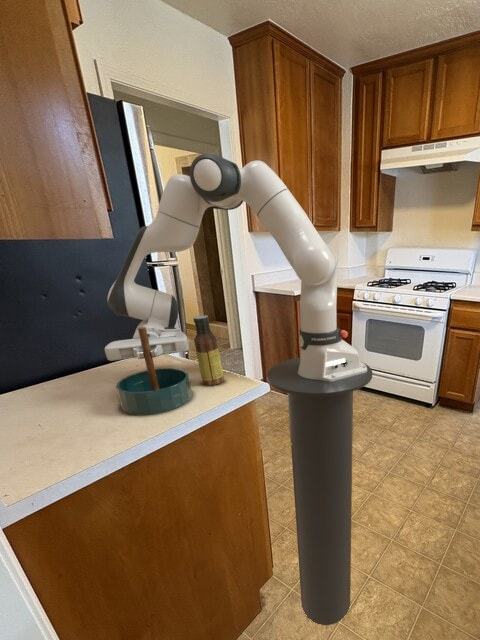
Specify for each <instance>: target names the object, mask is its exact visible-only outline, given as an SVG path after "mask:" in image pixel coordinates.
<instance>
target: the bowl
mask: <svg viewBox="0 0 480 640" xmlns="http://www.w3.org/2000/svg"><path fill="white" fill-rule="evenodd" d="M155 371H156V376H157V380H158V385H159V390H154V391H152V388H151V384H150V379H149V375H148V371H147V370H144V371H138V372H136V373H133V374H130V375H127V376H126V377H123V378H121V379H120V380H119V381H117V383H116V386H115V389H116V393H117V396H118V401H119V403H120V406H121V409H122V411H123V412H125V413H126V414H129V415H137V416H148V415H149V416H150V415H157V414H161V413H166V412H170V411H172V410H175V409H178V408H180V407H182V406H184V405H186V403H188V402H189V401H190V400H191V398H192V397H193V396H192V395H193V394H192V388H191V383H190V382H191V381H190V378H189V372H187V371H186V370H184V369H180V368H173V367H167V368H165V367H164V368H163V367H162V368H155Z"/></svg>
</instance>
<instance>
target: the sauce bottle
mask: <svg viewBox="0 0 480 640" xmlns="http://www.w3.org/2000/svg"><path fill="white" fill-rule="evenodd" d="M192 319H193V323H194V326H195V329H196V330H195V332H196V335H195V337H194V340H193V341H194V342H193V343H194V347H195V352H196V358H197V362H198V367H199V372H200V375H201V377H200V378H201V380H202V383H203V384H204V385H206V386H216V385H219V384H221V383H223V381H224V380H225V379H224V373H223V372H224V370H223V365H222V360H221V355H220V349H219V346H218V342H217V338H216V337H215V335H214V334H213V332H212V331H211V327H210V317H209V316H208V315H196V316H194V317H193V318H192Z"/></svg>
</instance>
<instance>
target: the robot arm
mask: <svg viewBox="0 0 480 640" xmlns="http://www.w3.org/2000/svg"><path fill="white" fill-rule="evenodd" d="M243 203H246V204H247V205H248V206H249V207H250V209H251V210H252V212H253V213H254V214H255V215H256V217H257V218H258V219H259V221H260V222H261V224H263V226H264V227H265V228H266V230H267V232H268V233H269V234H270V235H271V236H272V238H273V239H274V240H275V242H276V244H277V245H278V247H279V249H280V250H281V252H282V254H283V255H284V257H285V259H286V260H287V262H288V264H289V265H290V266H291V268H292V270H293V272H294V273H295V275H296V276H297V277H298V279H299V280H300V297H299V320H300V321H299V322H300V329H299V335H298V336H299V347H300V364H299V369H298V374H299V375H300V376H301V377H304V378H307V379H313V380H322V381H326V382H332V381H336V380H340V379H344V378H347V377H351V376H355V375H358V374H362V373H366V372H367V367H366V365H367V364H366V363H365V364H366V365H365V364H363V363H364V362H363V361H361V358H360V354H359V352H358V350H357V349H356V348H355V347H353V346H352V345H351V344H350V343H348V342H346V341H345V340H344V339H343V338H345V339H346V338H347V337H348V336H349V332H348V331H346V330H345V329H340V328H338V326H337V325H338V324H337V323H338V322H337V321H338V320H337V319H338V318H337V299H338V255H337V252H336V250H335V249H334V248H333V247H332V245H330V244H328V243H327V242H325V241H324V240H323V238H322V237H321V235H320V234H319V232H318V231H317V229H316V228H315V226H314V224H313V223H312V221H311V220H310V218H309V216H308V214H307V213H306V212H305V210H304V208H303V207H302V206H301V204H300V203H299V202H298V201H297V200H296V198H295V196H294V195H293V193H292V192H291V191H290V189H289V188H288V187H287V185H286V184H285V183H284V182H283V180H282V179H281V178H280V177H279V175H277V173H276V172H275V171H274V170H273V169H272V168H271V167H270V166H269V165H267V164H266V162H264V161H262V160H258V159H257V160H252V161H250V162H248V163H246V164H245V165H243V166H242V167H240V168H239V166H238V164H236V163H235V162H233V161H231V160H228V159H226V158H224V157H222V156H220V155H217V154H214V153H209V152H208V153H202V154H199V155H197V156H196V157H194V159H193V161H192V162H191V165H190V167H189V175H187V174H181V173H177V174H173V175H171V176H169V179H168V180H167V182H166V184H165V187H164V189H163V191H162V194H161V197H160V200H159V203H158V208H157V212H156V216H155V218H154V219H153V221H152V222H151V223H150V224H148V225H145V226H141V227H140V229H138V231H137V233H136V235H135V237H134V239H133V241H132V243H131V245H130V247H129V249H128V252H127V255H126V257H125V258H124V261H123V264H122V266H121V268H120V270H119V273H118V275H117V277H116V279H115V281H114V282H113V283H112V285H111V287H110V288H109V291H108V294H107V298H106V299H107V300H106V301H107V305H108V307H109V308H110V310H111V311H112V312H113V313H114V314H115V315H116V316H121V317H128V318H133V319H137V320H141V321H140V322H139V324H138V325H137V326H136V329H135V331H134V334H133V336H132V338H130V339H129V338H128V339H121V340H120V339H119V340H113V341H111V342H109V343H107V345H105V347H104V353H105V357H106V360H108V361H110V362H115V361H120V360H130V359H137V360H143V359H145V358H144V353H143V349H142V345H141V341H140V336H139V332H138V328H140V327H146V331H147V335H148V340H149V344H150V349H151V354H152V355H151V356H152V358H153V359H154V358H158V357H160V356H163V355H171V354H176V353H185V352H188V351H190V345H189V339H188V336H187V335H186V333H185V332H183V331H182V329H181V328H180V327H176V325H177V322H178V315H179V303H178V301H177V299H176V298H175V296H174V295H173V294H170V293H167V292H164V291H161V290H157V289H153V288H150V287H147V286H143V285H140V284H137V283H136V282H135V279H136V276H137V275H138V273H139V270H140V267H141V265H142V264H143V261H144V259H145V258H146V257H147V256H148V255H150V254H154V253H179V252H184V251H187V250H189V249H190V248H191V247H193V245H195V242H196V240H197V238H198V235H199V232H200V226H201V223H202V219H203V216H204V214H205V211H206V210H207V209H208V208H210V209H213V210H222V211H223V210H224V211H231V210H235V209H237V208H240V206H242V204H243ZM360 361H361V362H360ZM362 362H363V363H362Z"/></svg>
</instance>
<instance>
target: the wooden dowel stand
mask: <svg viewBox="0 0 480 640" xmlns="http://www.w3.org/2000/svg"><path fill="white" fill-rule="evenodd" d="M138 332H139V336H140V341H141V345H142V349H143V353H144V358H143V359H144V361H145V366H146V371H148V375H149V379H150V384H151V388H152V391H154V390H159V385H158V380H157V376H156V371H155V369H156V367H155V361H154V358H152V356H151V355H152V354H151V349H150V344H149V340H148V335H147V331H146V327H140V328H138Z"/></svg>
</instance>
